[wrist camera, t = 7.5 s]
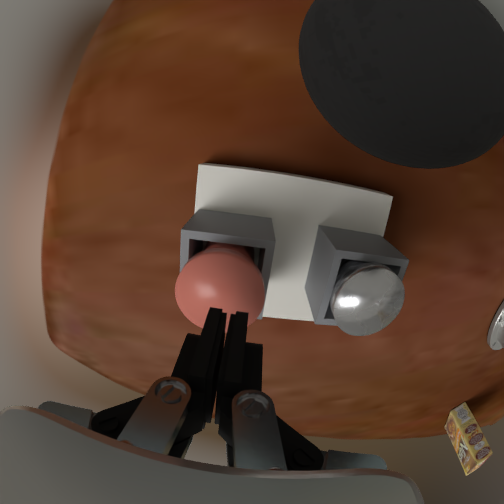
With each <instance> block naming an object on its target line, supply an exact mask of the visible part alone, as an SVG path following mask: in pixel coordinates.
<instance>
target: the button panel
mask: <svg viewBox="0 0 504 504" xmlns="http://www.w3.org/2000/svg"><path fill="white" fill-rule="evenodd" d="M392 199H393V196H390V195H388V194H386V193H384V192H380V191H376V190H372V189H368V188H363V187H359V186H354V185H350V184H345V183H340V182H335V181H330V180H325V179H319V178H314V177H308V176H303V175H297V174H290V173H284V172H278V171H271V170H264V169H256V168H248V167H240V166H231V165H222V164H212V163H202V164H199V167H198V177H197V189H196V201H195V214H194V215H193V216H192V217H191V219H190V220H189V221H188V222H187V223H186V224H185V226H184V227H183V228H182V229H181V249H180V272H181V271H182V269H183V267H184V265H185V264H186V263H187V261H188V260H189V259H190V258H191V257H192V256H194V255H195V254H197V253H199V252H201V251H203V250H204V248H205V246H206V244H207V242H208V241H212V242H219V243H227V244H235V245H243V246H251V247H254V263H255V265H256V266H257V267H258V269H259V270H260V272H261V274H262V277H263V281H264V291H265V301H264V306H263V309H262V311H261V313H260V315H259V316H258V318H257V319H262V316H264V317H274V318H284V319H295V320H306V321H314V322H315V324H322V325H337V323H336V321H335V319H334V316H333V313H332V311H331V307H330V298H331V294H332V291H333V288H334V284H335V281H336V277H337V274H338V270H339V267H340V263H341V259H342V258H343V259H350V260H358V261H365V262H374V263H381V264H384V265H386V266H387V267H389V268H390V269H391V270H392V271H393V272H394V273H395V274H396V275H397V276H398V277H399V279H400V280H401V282H402V280H403V277H404V274H405V271H406V268H407V266H408V263H409V260H408V259H407V258H406V257H405V256H404V255H403V254H402V253H401V252H399V251H398V250H397V249H396V248H395V247H394V246H393V245H391V244H390V243H389V242H388V241H387V240H385V239H384V238H383V236H384V232H385V228H386V224H387V220H388V216H389V212H390V208H391V204H392Z"/></svg>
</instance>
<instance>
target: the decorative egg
mask: <svg viewBox="0 0 504 504" xmlns="http://www.w3.org/2000/svg"><path fill="white" fill-rule="evenodd" d="M299 60H300V67H301V72H302V76H303V79H304V82H305V85H306V88H307V90H308V92H309V94H310V96H311V98H312V100H313V102H314V103H315V105H316V107H317V108H318V110H319V111H320V112H321V114H322V115H323V117H324V118H325V119H326V120H327V121H328V122H329V124H330V125H331V126H332V127H333V128H334V129H335V130H336V131H337V132H338V133H340V134H341V135H342V136H343V137H344V138H345V139H347V140H348V141H350V142H351V143H352V144H354V145H355V146H357V147H358V148H360V149H362V150H364V151H365V152H367V153H369V154H371V155H373V156H375V157H378V158H380V159H383V160H385V161H388V162H391V163H394V164H399V165H403V166H407V167H414V168H427V169H431V168H445V167H451V166H456V165H459V164H463V163H465V162H468V161H471V160H473V159H475V158H477V157H479V156H480V155H482V154H484V153H485V152H487V151H488V150H489V149H491V148H492V147H493V146H494V145H495V144H496V143H497V142H498V141H499V140H500V139H501V138H502V136H503V135H504V31H503V30H502V28H501V26H500V25H499V23H498V22H497V21H496V19H495V18H494V17H493V15H492V14H491V13H490V12H489V11H488V9H487V8H486V7H485V6H484V5H483V4H482V3H480V1H478V0H315V1H314V2H313V4H312V5H311V7H310V9H309V10H308V12H307V14H306V16H305V19H304V22H303V25H302V29H301V32H300V39H299Z"/></svg>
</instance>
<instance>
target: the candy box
mask: <svg viewBox="0 0 504 504" xmlns="http://www.w3.org/2000/svg"><path fill="white" fill-rule="evenodd" d="M445 429H446V431H447V433H448V435H449V437H450V440H451V441H452V444H453V446H454V448H455V450H456V453H457V455H458V457H459V459H460V462H461V464H462V467H463V469H464V472H465V474H466V475H468V474H470V473H471V472H473V471H474V470H476V469H477V468H479V467H480V466H481V465H482V464H483V463H484V462H485V461H486V460H487V459H488V458H489V457H490V456H491V455H492V454H493V453H492V451H491V448H490V446H489V444H488V443H487V440H486V439H485V436H484V435H483V433H482V431H481V429H480V427H479V425H478V423H477V422H476V420H475V418H474V416H473V414H472V413H471V411H470V409H469V408H468V406H467V404H466V402H464V403H462V404H461V405H459V406H458V407H456V408H454V409H453V410H451V412H450V414H449V417H448V420H447V423H446V425H445Z"/></svg>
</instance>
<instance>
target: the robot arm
mask: <svg viewBox="0 0 504 504" xmlns="http://www.w3.org/2000/svg"><path fill="white" fill-rule="evenodd" d="M248 315H249V313H248V312H240V311H236V314H231V315H230V320H229V325H228V330H227V335H226V340H225V345H224V339H225V329H226V319H227V313H224V312H223V309H220V308H213V307H210V308H209V311H208V314H207V317H206V320H205V323H204V326H203V330H202V333H201V335H195V334H190V333H188V334H187V336H186V338H185V341H184V343H183V346H182V349H181V351H180V354H179V356H178V359H177V362H176V364H175V367H174V370H173V373H172V375H171V377H163V378H160V379H158V380H156V381H155V382H154V383H153V384H152V386H151V387H150V389H149V390H148V392H147V393H146V395H145V396H143V397H140V398H137V399H135V400H132V401H129V402H126V403H124V404H120V405H117V406H114V407H111V408H108V409H105V410H103V411H100V412H98V413H95V412H93V411H92V410H90V409H85V408H80V407H75V406H70V405H66V404H61V403H57V402H53V401H47V402H44V403H42V404H41V405H39V407H38V408H33V407H29V406H9V407H7V408H5V409H3V410H2V411H1V412H0V504H424V501H423V498H422V495H421V493H420V491H419V489H418V487H417V485H416V484H415V482H414V481H413V480H412V479H411V478H410V477H408V476H406V475H404V474H401V473H398V472H395V471H390V470H387V466H386V463H385V461H384V460H383V459H382V458H381V457H379V456H377V455H372V454H359V453H350V452H341V451H334V450H328V452H326V451H320V450H319V449H318V448H317V447H316V446H315V445H314V444H312V443H311V442H310V441H308V440H307V439H306V438H304V437H303V436H302V435H300V434H299V433H298V432H297V431H295V430H294V429H293V428H291V427H290V426H289V425H288V424H286V423H285V422H284V421H283V420H282V419H280V418H279V417H278V416H277V415H276V413H275V408H274V404H273V401H272V399H271V398H270V397H269V396H268V395H266V394H265V393H263V392H261V389H262V355H263V345H262V344H255V343H247V342H246V334H247V324H248ZM487 341H488V344H489V346H490V347H491V348H492V349H493V350H499V349H501V348H504V301H503V302H502V304H501V306H500V307H499V309H498V311H497V313H496V314H495V316H494V318H493V321H492V323H491V326H490V329H489V332H488V339H487ZM216 392H217V396H216ZM215 397H216V411H215V424H219V431H218V434H219V435H220V436H221V437H222V438H223V439H224V440H225V441H226V452H227V453H226V454H227V466H220V465H213V464H206V463H201V462H195V461H191V460H185V459H184V458H185V455H186V453H187V451H188V449H189V446H190V444H191V442H192V439H193V435H194V434H196V433H198V432H200V431H202V429H204V427H205V423H206V422H207V423H210V422H211V418H212V413H213V408H214V402H215Z"/></svg>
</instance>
